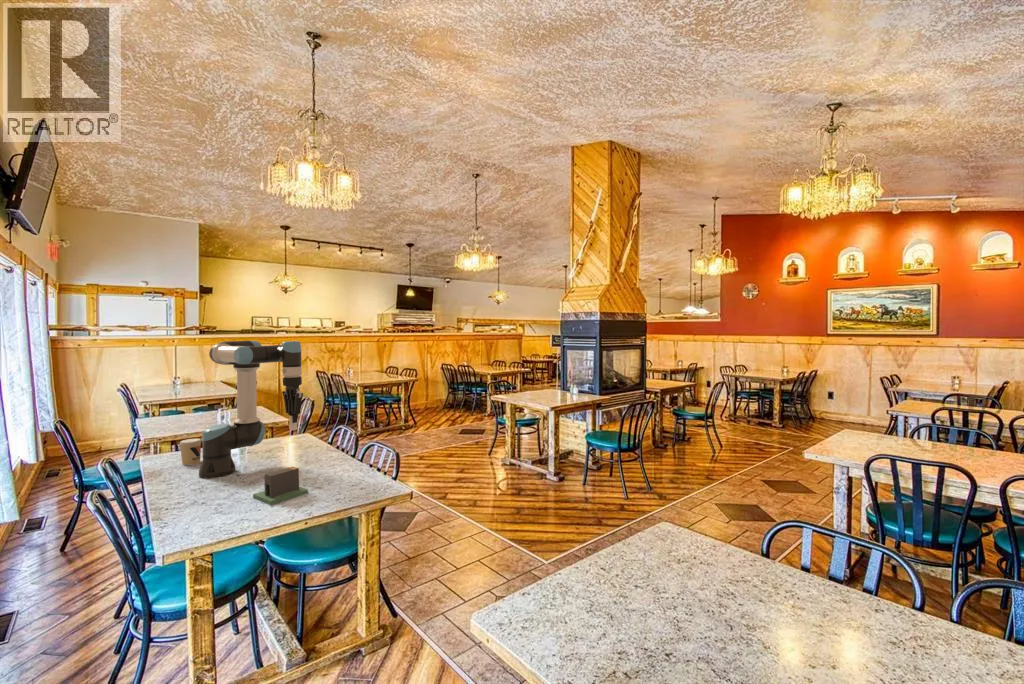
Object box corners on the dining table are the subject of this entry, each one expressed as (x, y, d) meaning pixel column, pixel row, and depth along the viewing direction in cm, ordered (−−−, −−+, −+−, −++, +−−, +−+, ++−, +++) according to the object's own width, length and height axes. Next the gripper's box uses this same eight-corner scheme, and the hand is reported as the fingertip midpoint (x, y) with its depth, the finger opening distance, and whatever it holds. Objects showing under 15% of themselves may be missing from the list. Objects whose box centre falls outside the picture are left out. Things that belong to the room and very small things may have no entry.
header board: (253, 497, 191) (252, 484, 190) (290, 486, 204) (290, 474, 203) (270, 505, 183) (270, 491, 182) (307, 493, 196) (307, 480, 195)
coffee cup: (193, 465, 236) (193, 442, 236) (175, 465, 236) (175, 442, 236) (206, 460, 245) (205, 438, 245) (188, 460, 245) (188, 438, 245)
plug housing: (264, 495, 189) (264, 473, 189) (292, 486, 199) (292, 466, 198) (271, 497, 186) (270, 475, 186) (299, 489, 196) (298, 468, 196)
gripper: (275, 376, 200) (277, 429, 201) (291, 378, 193) (293, 433, 193) (292, 374, 206) (293, 426, 207) (308, 376, 199) (309, 430, 200)
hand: (293, 429), depth 200 cm, fingers closed
